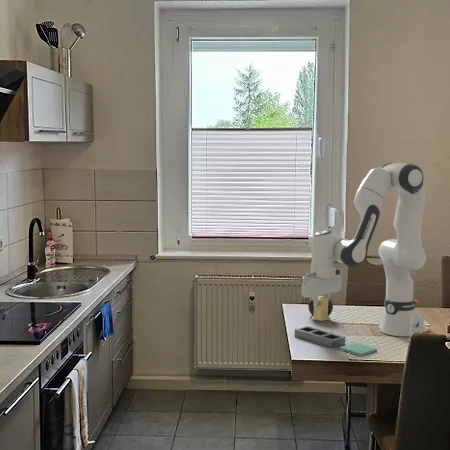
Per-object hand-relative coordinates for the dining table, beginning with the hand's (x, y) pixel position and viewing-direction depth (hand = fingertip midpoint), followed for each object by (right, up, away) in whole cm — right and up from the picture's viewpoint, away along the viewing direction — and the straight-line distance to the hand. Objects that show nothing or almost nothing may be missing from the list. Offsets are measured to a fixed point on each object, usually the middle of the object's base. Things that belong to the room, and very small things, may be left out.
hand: (321, 305), depth 258 cm
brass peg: (0, -6, +1) cm, 6 cm away
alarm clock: (+5, -11, +33) cm, 35 cm away
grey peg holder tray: (0, -14, +2) cm, 14 cm away
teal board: (+13, -16, -11) cm, 23 cm away
